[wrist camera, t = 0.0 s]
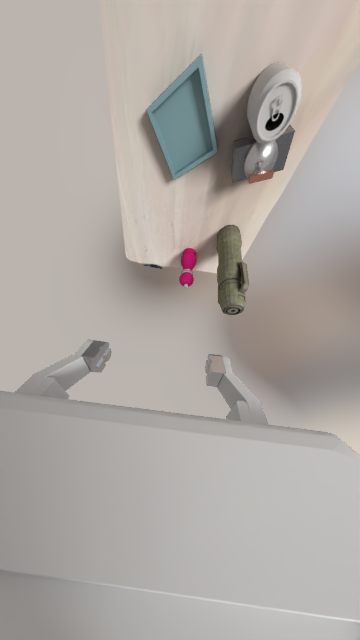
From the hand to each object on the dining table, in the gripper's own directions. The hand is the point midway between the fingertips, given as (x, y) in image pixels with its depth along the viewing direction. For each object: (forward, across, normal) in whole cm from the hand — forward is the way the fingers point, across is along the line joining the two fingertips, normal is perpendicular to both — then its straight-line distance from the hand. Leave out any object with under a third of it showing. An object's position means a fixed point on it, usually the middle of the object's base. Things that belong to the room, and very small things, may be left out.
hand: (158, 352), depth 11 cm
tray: (+47, +3, -27) cm, 54 cm away
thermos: (+59, -16, -5) cm, 62 cm away
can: (+45, -14, -31) cm, 57 cm away
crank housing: (+48, -16, -24) cm, 57 cm away
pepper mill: (+64, -2, +4) cm, 64 cm away
